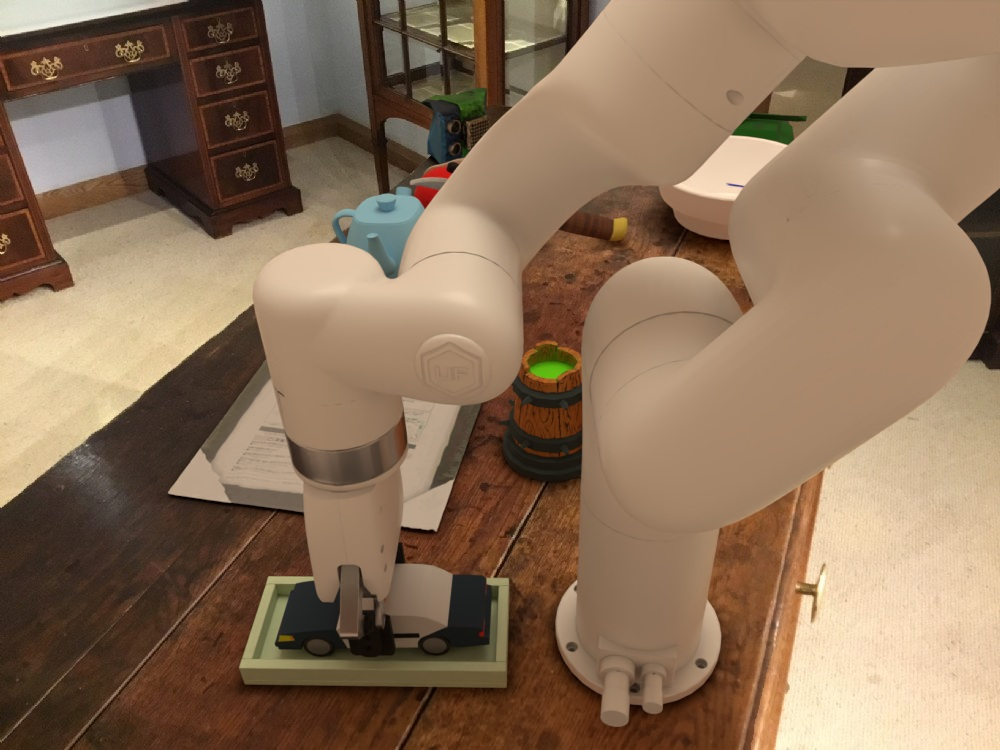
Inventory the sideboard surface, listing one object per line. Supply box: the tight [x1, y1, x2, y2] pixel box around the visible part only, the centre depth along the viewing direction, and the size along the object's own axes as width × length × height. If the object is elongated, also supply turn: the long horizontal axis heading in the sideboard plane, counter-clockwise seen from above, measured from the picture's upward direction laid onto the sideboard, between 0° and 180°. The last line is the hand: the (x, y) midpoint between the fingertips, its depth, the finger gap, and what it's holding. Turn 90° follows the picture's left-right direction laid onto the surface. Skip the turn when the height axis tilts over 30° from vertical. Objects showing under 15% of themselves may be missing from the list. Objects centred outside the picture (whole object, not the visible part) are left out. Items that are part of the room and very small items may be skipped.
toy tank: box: [731, 111, 808, 145], centre depth 136 cm, size 16×23×10 cm
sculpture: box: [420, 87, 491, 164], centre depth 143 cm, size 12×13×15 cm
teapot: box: [331, 186, 425, 279], centre depth 109 cm, size 15×14×11 cm
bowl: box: [657, 135, 788, 241], centre depth 120 cm, size 22×22×8 cm
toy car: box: [275, 563, 492, 657], centre depth 65 cm, size 5×16×5 cm, turn 88°
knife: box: [409, 177, 628, 242], centre depth 114 cm, size 5×4×30 cm
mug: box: [498, 339, 583, 483], centre depth 80 cm, size 13×10×12 cm
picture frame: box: [167, 358, 483, 532], centre depth 89 cm, size 26×1×30 cm
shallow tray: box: [238, 575, 510, 689], centre depth 66 cm, size 9×20×2 cm, turn 88°
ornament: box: [413, 162, 459, 209], centre depth 120 cm, size 9×9×10 cm
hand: (380, 612), depth 65 cm, fingers open, 6 cm apart
